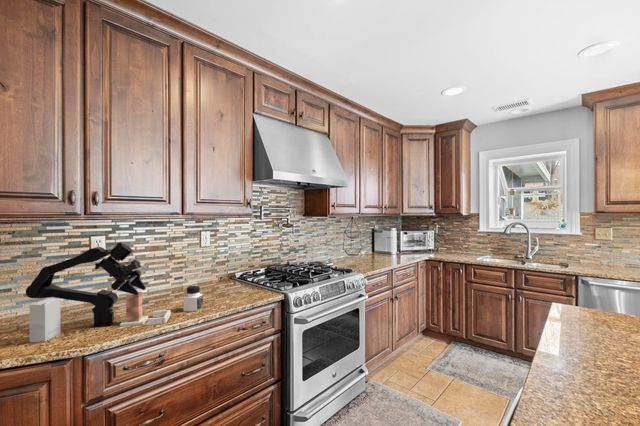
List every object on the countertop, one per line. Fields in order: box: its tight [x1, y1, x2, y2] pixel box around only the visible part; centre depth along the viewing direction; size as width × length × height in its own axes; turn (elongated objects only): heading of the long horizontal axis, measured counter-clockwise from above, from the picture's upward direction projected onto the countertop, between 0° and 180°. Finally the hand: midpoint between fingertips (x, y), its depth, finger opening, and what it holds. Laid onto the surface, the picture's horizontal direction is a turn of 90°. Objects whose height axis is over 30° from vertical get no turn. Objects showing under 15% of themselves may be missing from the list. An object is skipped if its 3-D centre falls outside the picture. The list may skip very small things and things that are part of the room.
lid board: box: [119, 315, 149, 328], centre depth 139 cm, size 9×9×1 cm
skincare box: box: [29, 298, 61, 343], centre depth 121 cm, size 8×6×15 cm
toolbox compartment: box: [146, 309, 171, 326], centre depth 142 cm, size 7×12×2 cm, turn 16°
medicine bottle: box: [183, 284, 204, 312], centre depth 157 cm, size 7×7×12 cm
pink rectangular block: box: [125, 291, 143, 322], centre depth 139 cm, size 5×5×12 cm
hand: (141, 291), depth 140 cm, fingers open, 9 cm apart
